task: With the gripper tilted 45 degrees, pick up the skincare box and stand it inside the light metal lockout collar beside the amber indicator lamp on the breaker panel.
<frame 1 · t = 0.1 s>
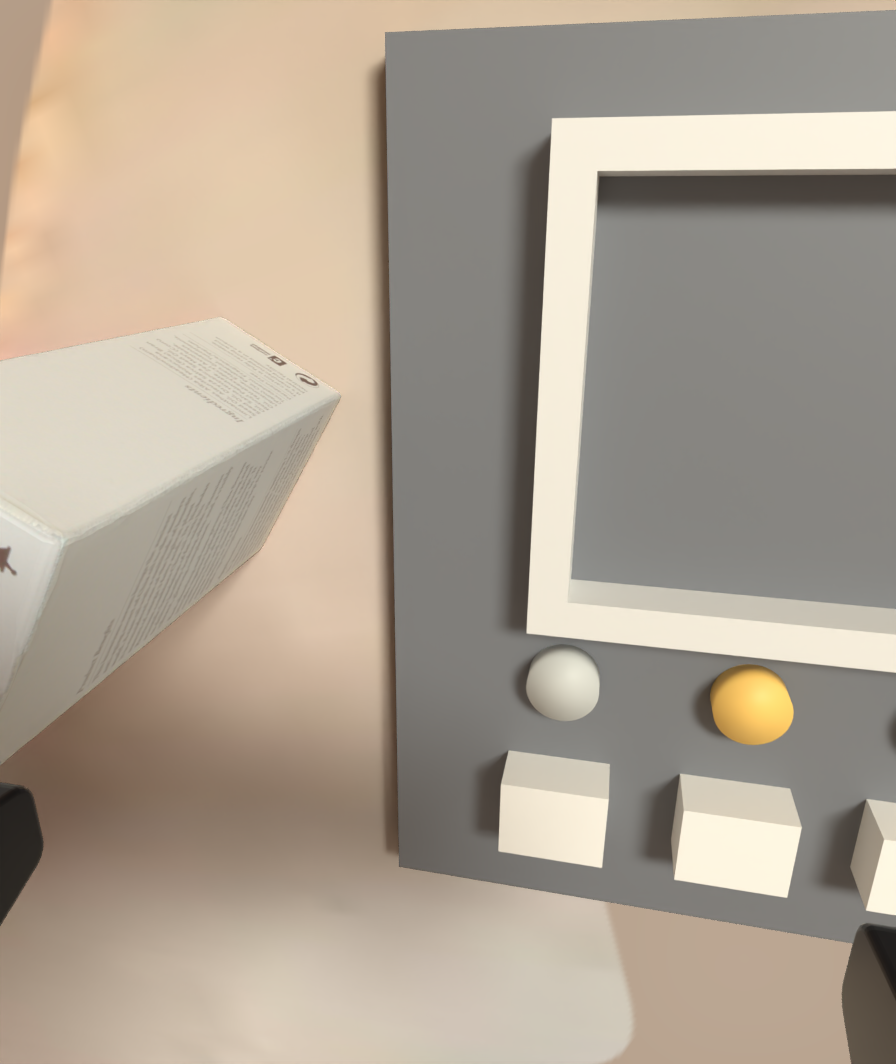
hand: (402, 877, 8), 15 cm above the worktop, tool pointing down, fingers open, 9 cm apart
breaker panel: (724, 541, 21), on the worktop
skincare box: (244, 437, 23), on the worktop
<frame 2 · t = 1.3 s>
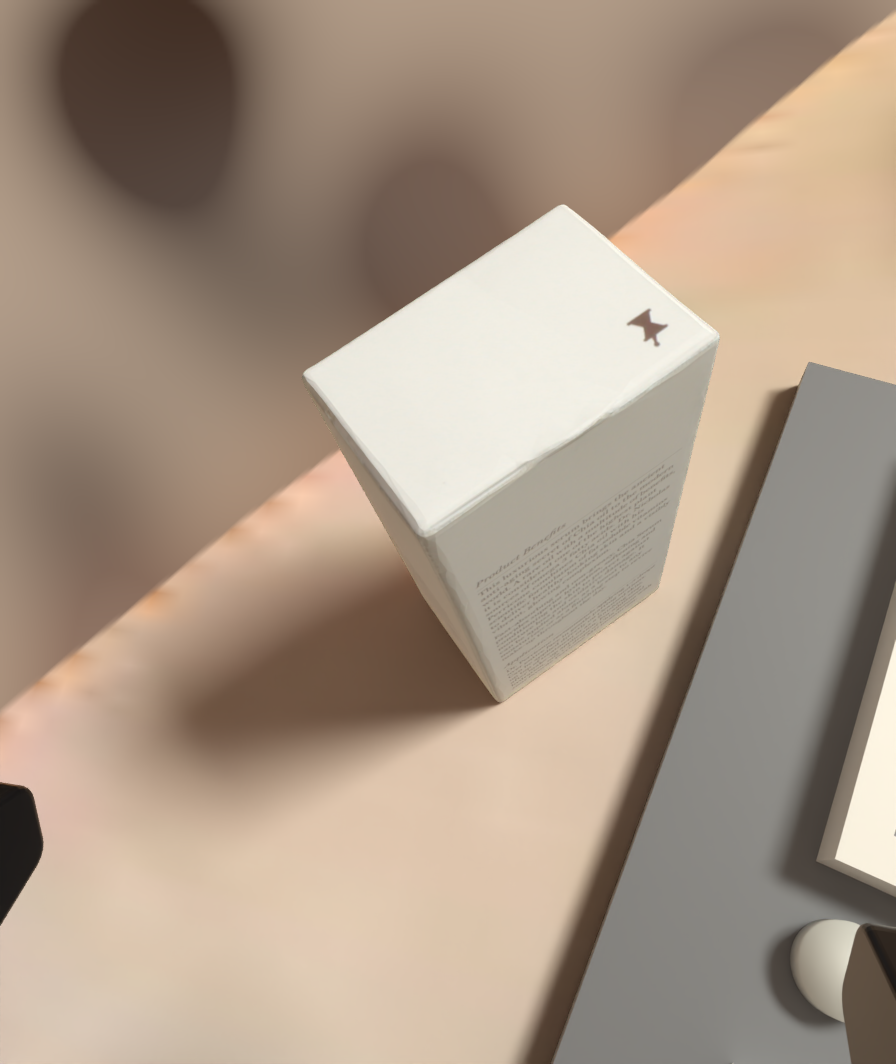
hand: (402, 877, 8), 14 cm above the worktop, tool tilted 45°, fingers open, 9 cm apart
skincare box: (536, 597, 24), on the worktop
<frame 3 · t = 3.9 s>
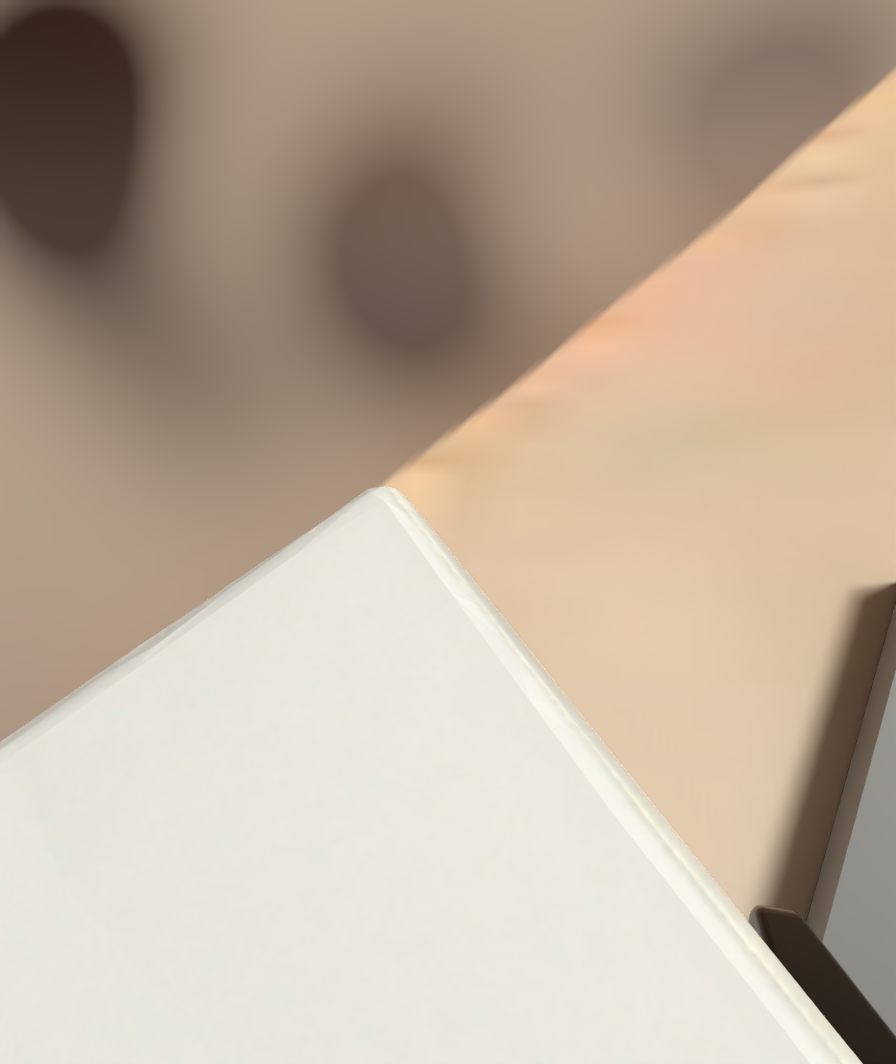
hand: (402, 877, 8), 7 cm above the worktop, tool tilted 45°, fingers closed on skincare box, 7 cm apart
skincare box: (462, 969, 14), on the worktop, touching gripper
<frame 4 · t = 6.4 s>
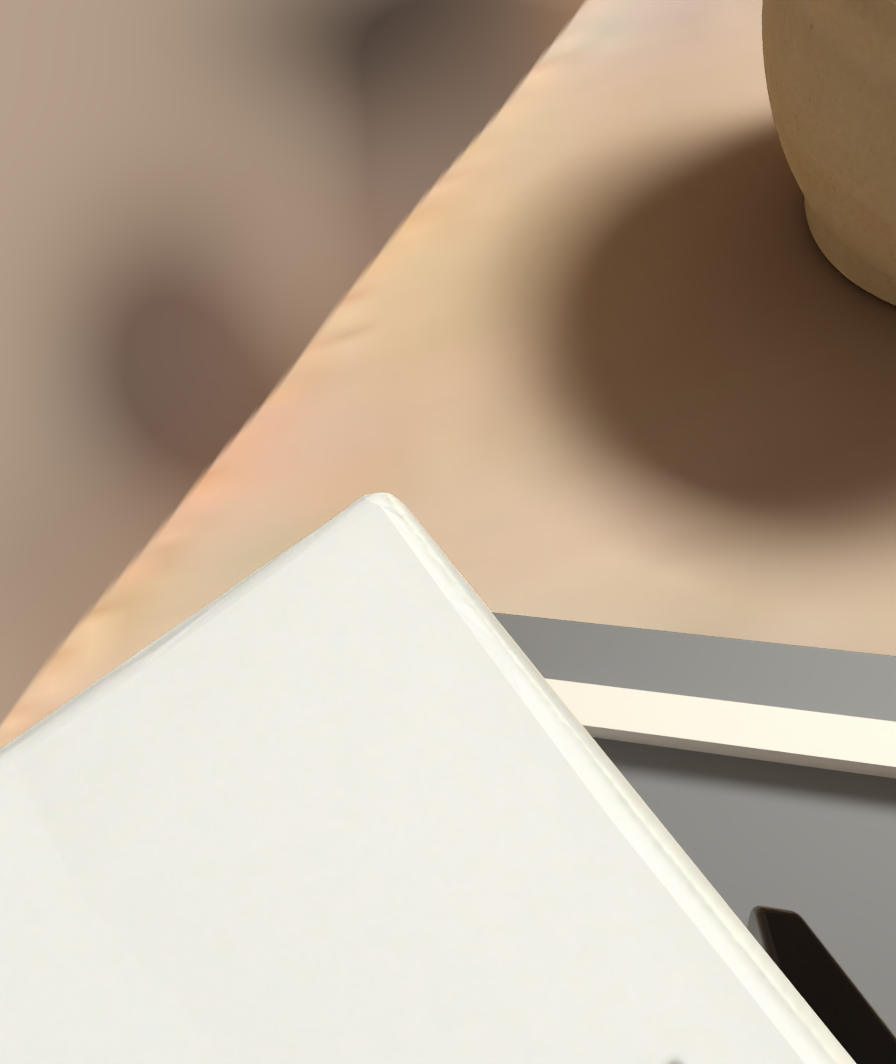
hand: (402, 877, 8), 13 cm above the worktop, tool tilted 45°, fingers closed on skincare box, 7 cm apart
skincare box: (461, 965, 14), point 6 cm above the worktop, touching gripper
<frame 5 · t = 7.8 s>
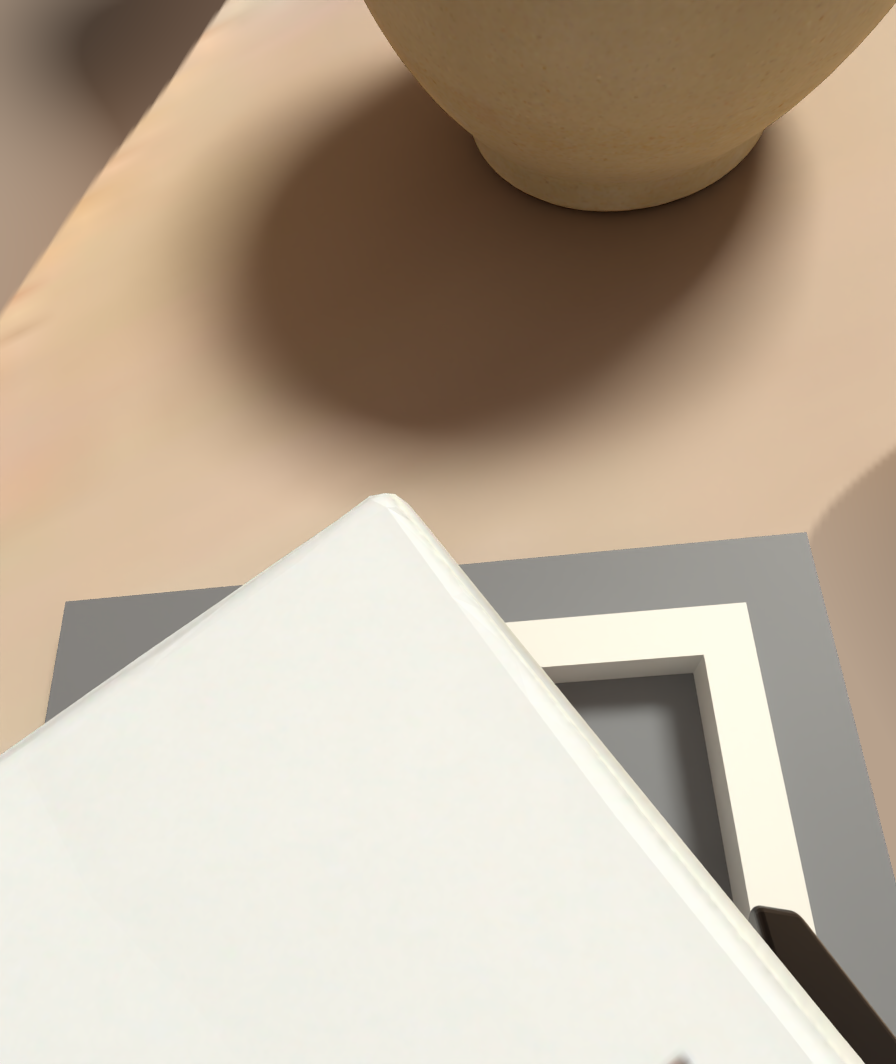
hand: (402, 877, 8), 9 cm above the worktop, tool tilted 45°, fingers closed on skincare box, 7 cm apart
planter bowl: (619, 116, 26), on the worktop
skincare box: (463, 964, 14), point 2 cm above the worktop, touching gripper
when the fingers open (9 cm above the worktop, at t = 8.8 s): skincare box drops 1 cm, resting on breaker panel.
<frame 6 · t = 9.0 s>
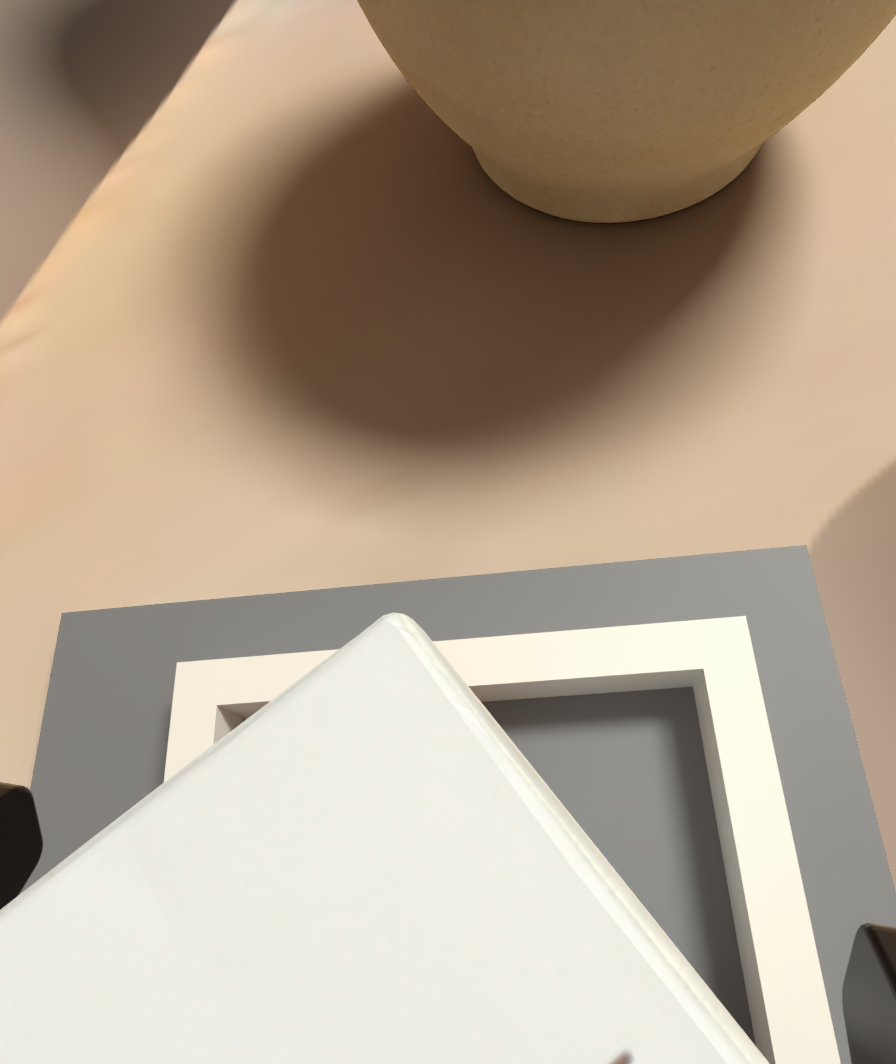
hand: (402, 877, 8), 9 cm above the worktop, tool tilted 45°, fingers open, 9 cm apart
planter bowl: (618, 128, 26), on the worktop
skincare box: (470, 971, 15), point 1 cm above the worktop, touching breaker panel
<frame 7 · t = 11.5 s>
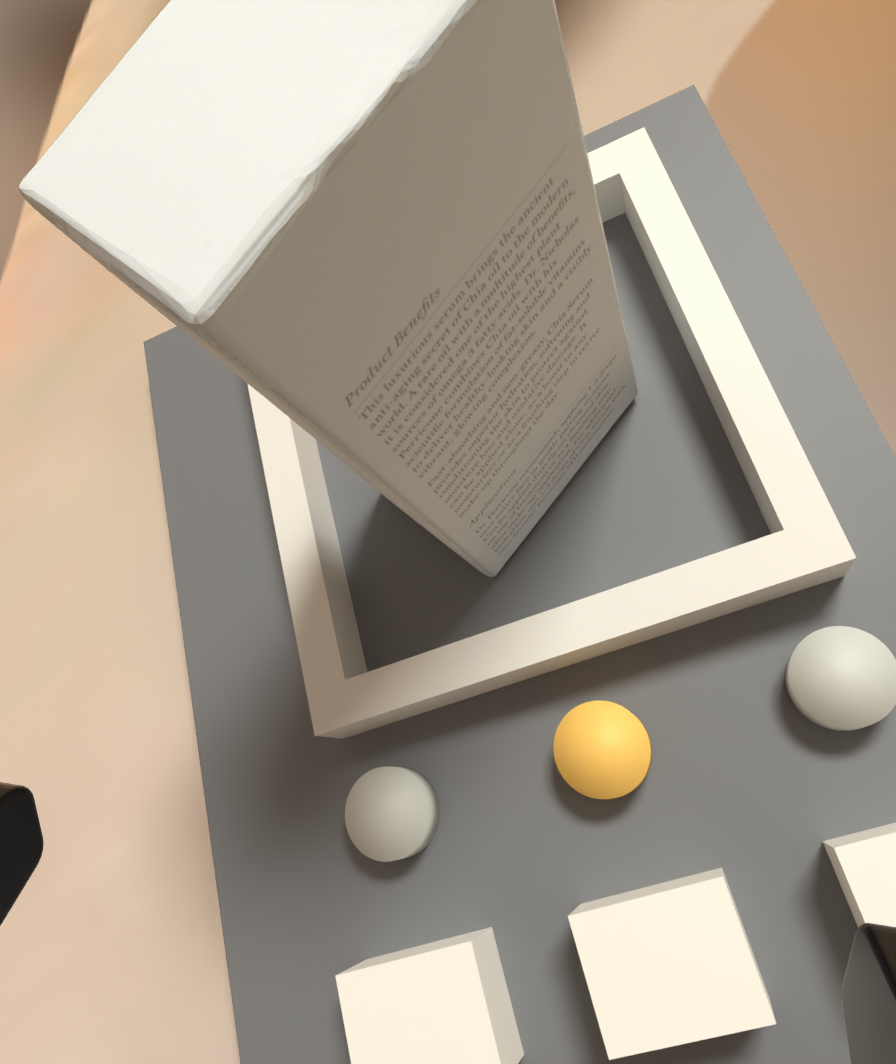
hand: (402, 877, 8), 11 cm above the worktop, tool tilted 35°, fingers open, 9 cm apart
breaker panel: (522, 606, 20), on the worktop
skincare box: (504, 450, 20), point 1 cm above the worktop, touching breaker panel
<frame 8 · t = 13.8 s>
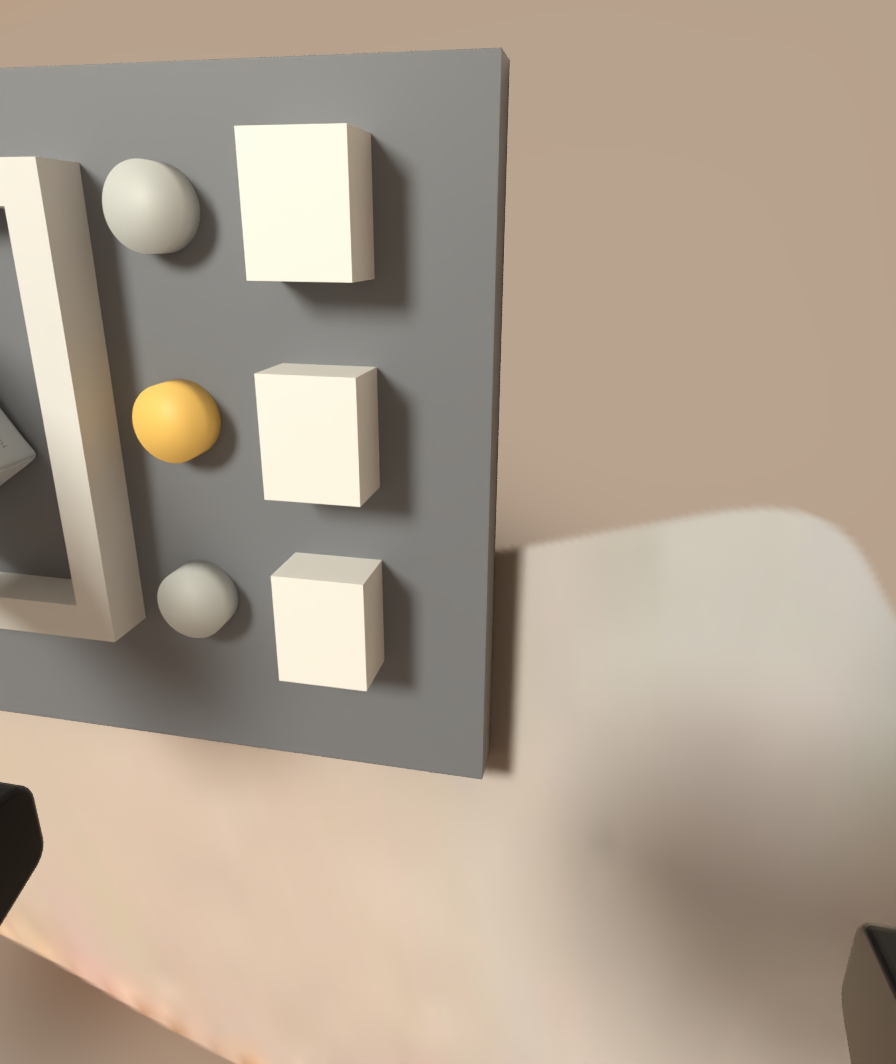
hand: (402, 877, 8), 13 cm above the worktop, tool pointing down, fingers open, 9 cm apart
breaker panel: (83, 436, 22), on the worktop
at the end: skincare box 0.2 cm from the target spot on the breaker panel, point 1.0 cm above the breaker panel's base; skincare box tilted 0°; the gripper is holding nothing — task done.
